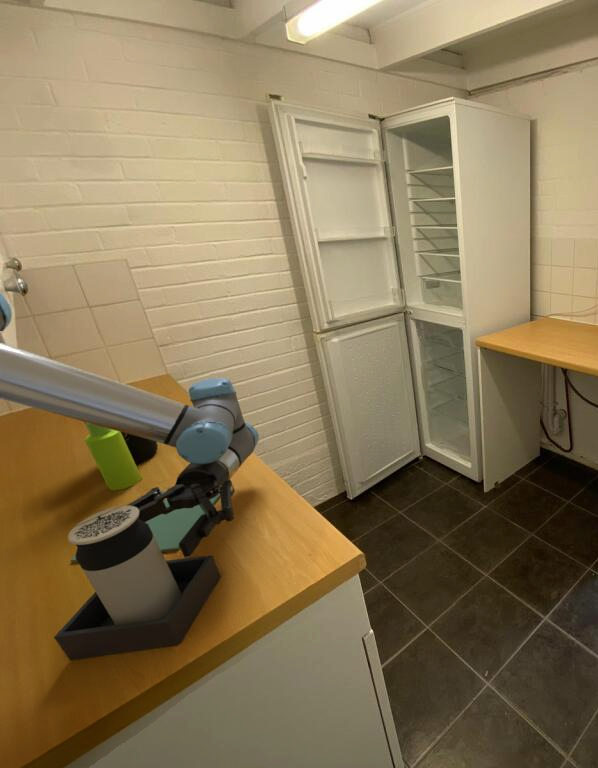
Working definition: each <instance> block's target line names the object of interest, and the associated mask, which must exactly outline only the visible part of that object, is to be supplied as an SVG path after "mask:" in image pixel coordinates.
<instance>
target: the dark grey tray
mask: <svg viewBox="0 0 598 768" xmlns="http://www.w3.org/2000/svg"><path fill="white" fill-rule="evenodd" d="M166 562H167V565H168V567H169V569H170V571H171V573H172V575H173V577H174V579H175V581H176V583H177V585H178V587H179V589H180V592H181V594H182V595H181V596H180V598H179V599H178V600H177V602H176V603H175V605H174V606H173V608H172V609H171V611H170V612H169V614H168V615H167V616H166V618H165V619H158V620H150V621H143V622H135V623H128V624H120V625H115V623H114V622H113V620H112V618H111V617H110V615H109V613H108V612H107V610H106V608H105V607H104V605H103V603H102V601H101V600H100V598H99V596H98V595H97V593H96V591H95V592H94V593H93V594H92V595H91V596H90V597H89V598H88V599H87V601H86V602H85V603H84V604H82V606H81V607H80V608H79V609H78V610H77V611H76V612H75V613H74V615H73V616H71V618H70V619H69V620H68V621H67V622H66V623H65V624H64V626H63V627H61V629H60V630H59V631H58V632H57V633H56V634H55V635H54V636H53V638H54V640H55V641H56V642H57V644H58V645H59V647H60V648H61V650H62V652H63V653H64V654H65V656H66V657H67V658H68V660H69V661H76V660H84V659H89V658H90V659H91V658H98V657H103V656H104V657H105V656H112V655H118V654H125V653H131V652H141V651H146V650H153V649H161V648H167V647H176V646H180V644H182V641H183V640H184V638H185V636H186V635H187V633H188V632H189V630H190V628H191V627H192V625H193V624H194V622H195V620H196V619H197V617H198V615H199V614H200V613H201V611H202V609H203V607H204V605H205V604H206V602H207V601H208V599H209V597H210V596H211V594H212V592H213V591H214V590H215V587H216V586H217V584H218V583H219V581H220V579H221V578H222V574H221V572H220V569H219V567H218V564H217V563H216V560H215V557H214V555H213V554H210V555H203V556H201V555H200V556H195V557H194V556H193V557H184V558H176V559H169V560H166Z"/></svg>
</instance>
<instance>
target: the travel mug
mask: <svg viewBox="0 0 598 768" xmlns="http://www.w3.org/2000/svg"><path fill="white" fill-rule="evenodd" d="M138 516H139V510H138V508H136V507H134V506H126V505H119V506H114V507H110V508H107V509H104V510H101V511H99V512H96V513H94V514H92V515H90V516H88V517H86V518H85V519H83V520H82V521H79V523H77V524H76V525H74V526H73V528H72V529H71V530H70V531H69V533H68V535H67V541H68V542H69V543H70V544H72V545H75V546H76V547H77V548H76V551H75V555H76V559H77V561H78V562H77V563H78V565H79V566H80V568H81V569H82V571H83V573H84V575H85V577H86V578H87V580H88V581H89V583H90V585H91V586H92V588H93V590H94V591H95V592H96V593H97V595H98V596H99V598H100V600H101V601H102V603H103V605H104V607H105V608H106V610H107V612H108V613H109V615H110V617H111V618H112V620H113V622H114V623H115V625H120V624H128V623H135V622H143V621H150V620H158V619H165V618H166V616H167V615H168V614H169V612H170V611H171V609H172V608H173V606H174V605H175V603H176V602H177V600H178V599H179V598H180V596H181V595H182V594H181V592H180V589H179V587H178V585H177V583H176V581H175V579H174V577H173V575H172V573H171V571H170V569H169V567H168V565H167V562H166V561H167V560H166V558H165V556H164V554H163V552H161V550H160V548H159V546H158V544H157V542H156V540H155V538H154V535H153V533H152V531H151V529H150V527H149V525H148V524H147V523H145V522H143V521H141V520H139V517H138Z"/></svg>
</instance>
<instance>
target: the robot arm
mask: <svg viewBox="0 0 598 768" xmlns="http://www.w3.org/2000/svg"><path fill="white" fill-rule="evenodd" d="M12 315H13V312H12V308H11V305H10V303H9V302H8V300H7V299H6V298H5V296H4V295H3V293H2V292H0V331H2V332H1V333H3V332H4V331H5V330H6V329H7V328H8V326H9V325H10V323H11V320H12ZM188 394H189V396H190V397H189V398H190V399H189V401H190V402H191V404H192V406H191V405H188V404H185V403H182V402H180V401H177V400H174V399H171V398H169V397H168V398H167V397H165V396H162V395H159V394H156V393H152V392H150V391H147V390H143V389H140V388H138V387H135V386H132V385H128V384H127V383H122V382H120V381H116V380H114V379H111V378H108V377H105V376H102V375H99V374H97V373H93V372H91V371H90V372H89V371H88V370H84V369H81V368H78V367H75V366H72V365H69V364H66V363H63V362H60V361H57V360H55V359H51V358H48V357H46V356H42V355H39V354H36V353H33V352H30V351H27V350H24V349H22V348H19V347H15V346H13V345H10V344H7V343H4V342H0V399H1V400H5V401H8V402H12V403H16V404H20V405H24V406H26V407H30V408H34V409H37V410H41V411H44V412H49V413H51V414H55V415H58V416H62V417H67V418H69V419H72V420H73V419H74V420H77V421H81V422H84V423H85V422H87V423H91V424H95V425H98V426H102V427H105V428H109V429H113V430H116V431H120V432H123V433H127V434H131V435H134V436H138V437H141V438H145V439H149V440H152V441H156V442H157V443H159V444H163V445H167V446H169V447H173V448H176V449H175V450H176V452H177V454H178V456H179V457H181V459H183V460H185V461H186V462H187V463H189V464H188V465H186V467H184V469H183V470H182V471H181V472H180V473H179V474H178V476H177V478H176V480H175V484H174V485H173V486H171V487H169V488H167V490H161V489H160V487H158V486H156V487H153V488H151V489H149V491H147V492H146V493H145V494H144V495H142V496H140V497H138V498H137V499H135V500H133V501H131V502H129V503H128V504H126V505H125V506H134V507H136V508H138V510H139V516H138V517H139V520H141V521H143V522H146V521H148V520H150V519H152V518H154V517H156V516H158V515H160V514H168V513H170V512H172V511H174V510H178V509H182V508H193V507H194V506H197V505H199V506H200V507H201V509H202V510H203V511H204V513H205V514H204V515H201V516H200V517H199V519H198V520H197V521H196V522H195V524H194V525H193V526H192V528H191V529H190V530H189V531H188V533H187V534H186V535H185V536H184V538H183V539H182V540H181V541H180V543H179V546H180V550H181V553H182V555H183V557H184V558H190V557H191V556H192V554H193V553H194V552H195V550H196V549H197V548H198V546H199V545H200V544H201V542H202V541H203V539H205V538H206V537H209V536H210V535H211V533H213V530H214V529H215V527H217V526H218V525H220V524H221V523H222V522H223V521H225V522H227V523H228V522H229V523H230V522H231V521H233V520H234V519H235V515H234V506H233V496H234V494H235V492H236V490H235V487H234V485H233V482H232V477H233V476H234V475H235V474H236V472H237V471H239V469H240V467H241V466H242V465H243V464H244V463H245V461H246V460H247V459H248V458H249V457H250V456H251V455H252V454H253V452H254V451H255V448H256V447H257V445H258V443H259V440H260V434H259V432H258V430H257V429H256V428H255V427H254V426H253V425H252V424H250V423H248V422H245V419H244V416H243V413H242V409H241V406H240V403H239V400H238V395H237V391H236V389H235V388H234V385H233V383H232V381H231V379H229V378H227V377H213V378H206V379H203V380H200V381H197V382H195V383H193V384H192V385H190V387H189V388H188ZM218 494H220V495H221V496H220V507H221V509H220V510H218V509H217V508H216V506H215V505H213V504H212V503H211V502H210V500H209V499H212V498H214V497H216V496H217V495H218ZM166 499H167V501H168V503H169V507H167V508H166V506H165V504H164V502H163V500H166Z"/></svg>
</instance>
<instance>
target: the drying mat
mask: <svg viewBox="0 0 598 768" xmlns="http://www.w3.org/2000/svg"><path fill="white" fill-rule="evenodd" d="M219 499H221V495H220V494H218V495H217V496H216V497H214V498H212V499H209V500H210V502H211V503H212V504H213V506H215V504H216V503H217V502H218V500H219ZM163 502H164V504H165V506H166V508H167V507H169V503H168V501H167V498H166V499H164V500H163ZM204 514H205V513H204V511H203V510H202V509H201V507H200V506H199V505H197V506H194V507H193V508H182V509H178V510H174V511H172V512H170V513H168V514H160V515H158V516H156V517H154V518H152V519H150V520H148V521H146V522H145V523H147V524H148V525H149V527H150V529H151V531H152V533H153V535H154V538H155V540H156V542H157V544H158V546H159V548H160V550H161V552H162V553H167V552H174V551H179V550H181V548H180V546H179V543H180V541H181V540H182V539H183V538H184V536H185V535H186V534H187V533H188V531H189V530H190V529H191V528H192V526H193V525H194V524H195V522H196V521H197V520H198V519H199V517H200V516H201V515H204ZM70 563H78V561H77V559H76V554H75V555H74V556H73V557H72V558H71V559H70Z"/></svg>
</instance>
